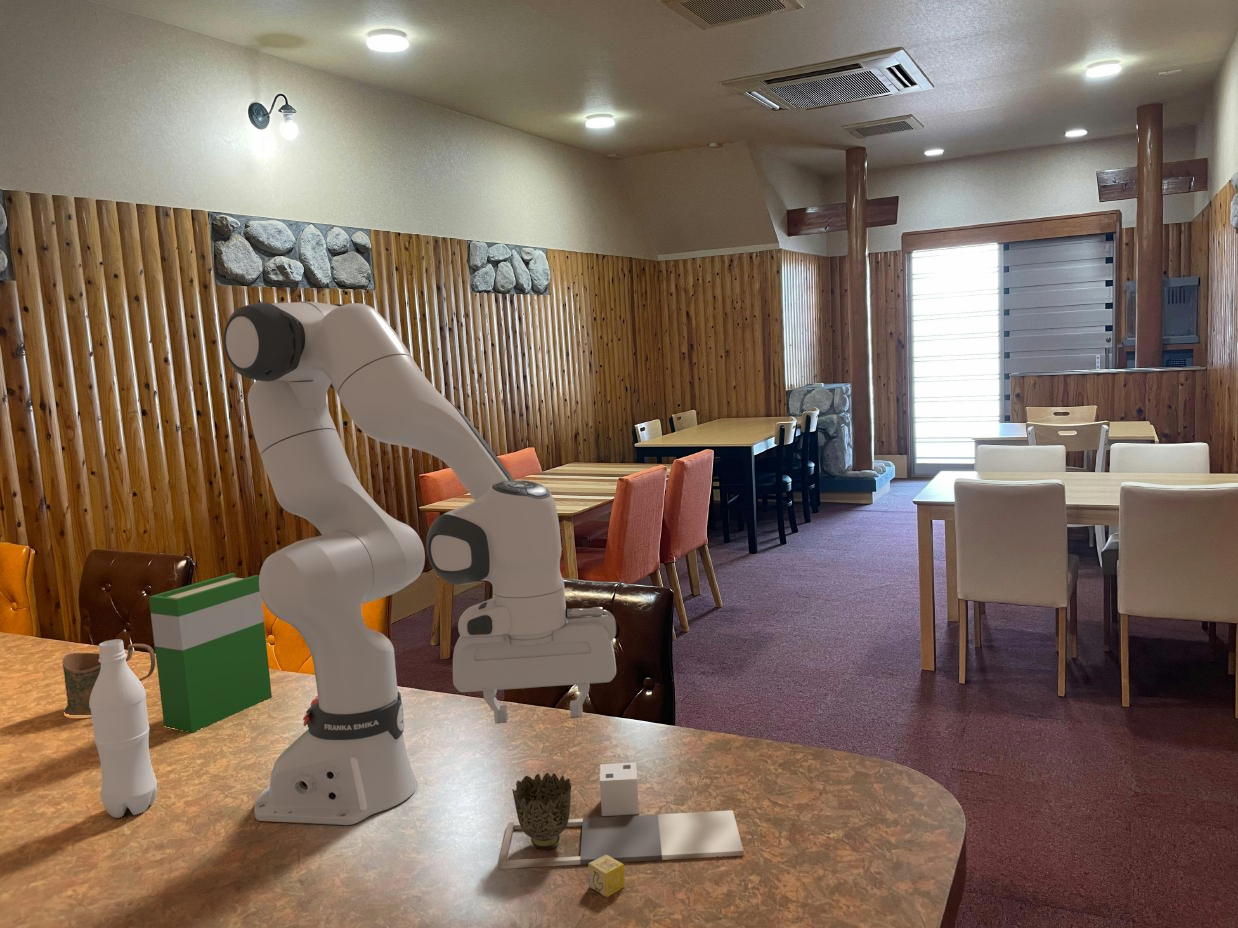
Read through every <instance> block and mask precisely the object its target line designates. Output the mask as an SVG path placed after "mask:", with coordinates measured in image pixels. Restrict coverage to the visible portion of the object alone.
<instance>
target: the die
mask: <svg viewBox="0 0 1238 928" xmlns="http://www.w3.org/2000/svg"><path fill="white" fill-rule="evenodd" d="M599 789H600V803H601V804H600V805H601V816H602V817H615V816H633V815H639V814H640V809H639V792H638V791H639V789H638V771H637V762H636V761H635V762H621V763H619V762H618V763H602V764H601V763H600V767H599Z"/></svg>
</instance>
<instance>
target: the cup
mask: <svg viewBox="0 0 1238 928" xmlns="http://www.w3.org/2000/svg"><path fill="white" fill-rule="evenodd" d="M540 775H541V774H540V773H536V774H535V776H534V778H532V777H531V776H530V775H525V776H524V777H523V778H522V780H521V781H520V780H516V782H515V786H516V788H515V789H511V790H512V791H511V792H512V794H513V800H514V805H515V811H516V815H517V816H516V817H517V820H518V822H519V824H520V826H521V828H522V829H521V830H522V832H523V833H524V834H525V835H526V836H527V837H529V838H530V842H531V845H532V847H534V848H535V849H536V850H539V851H540V850H541V851H548V850H552V849H554V848H556V847H557V846H558V844H559V843H560V840H561V836H560V835H561V834H562V833H563V832H564V831H565V829H566V828H567V827H566V826H567V823H568V820H569V819H570V814H571V813H570V812H571V801H572V800H571V797H572V783H571V779H570V778H567V779H566V778H565V776H564V775H563V774H562V775H561V777H560V778H559V777H558V776H557V774H556V773H552V775H551V774H550V773H549V772H546V773H545V774H544V775H543V777H542V778H541V776H540Z"/></svg>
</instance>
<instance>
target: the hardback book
mask: <svg viewBox="0 0 1238 928" xmlns="http://www.w3.org/2000/svg"><path fill="white" fill-rule="evenodd" d="M259 576H260V574H259V575H257V574H255V575H251V576H248V577H245V578H242V577H241V578H240V577H237V576H236V573H235V572H234V573H233V572H231V573H227V574H224V575H221V576H218V577H217V576H216V577H214V578H210V579H207V580H206V579H205V580H202V581H199V582H195V583H192V584H189V585H185V586H182V587H181V586H180V587H179V588H175V589H171V590H168V591H164V592H160V593H157V594H153V595H151V596H148V602H149V610H150V618H151V619H150V620H151V625H152V628H151V629H152V636H153V643H154V644H153V645H154V654H155V662H156V669H157V677H158V686H159V692H160V693H159V695H160V703H161V704H160V705H161V710H162V712H161V713H162V719H163V726H166V727H170V728H175V729H178V730H177V731H179V730H183V731H182V732H184V731H188V732H191V733H190V734H194V733H196V732H198V731H197V730H199V731H201V730H202V729H201V728H203V729H205V728H208V727H209V725H210V726H211V725H214V724H216V723H218V721H219V722H220V721H223V720H225V719H227V718H230V717H232V716H234V715H236V714H238V713H241V712H243V711H245V710H247V709H250V708H251V707H254V706H256V705H258V703H259V704H260V702H261V703H263V702H265V701H267V700H269V698H270V699H272V698H273V696H272V686H271V684H272V683H271V676H270V675H271V674H270V666H269V657H268V645H267V639H266V628H265V618H264V608H263V607H264V606H263V600H262V597H261V594H260V590H259ZM271 697H272V698H271ZM264 700H265V701H264ZM249 707H250V708H249ZM244 709H245V710H244ZM229 716H230V717H229ZM213 723H214V724H213ZM204 727H205V728H204ZM200 729H201V730H200ZM195 731H196V732H195ZM188 732H187V733H188ZM193 732H194V733H193Z"/></svg>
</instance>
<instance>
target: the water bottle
mask: <svg viewBox="0 0 1238 928" xmlns="http://www.w3.org/2000/svg"><path fill="white" fill-rule="evenodd" d="M98 649H99V654H100V655H99V657H100V658H99V662H100V663H101V669H100V673H99V676H98V678H97V680H96V682H95V685H94V687H93V690H92V692H91V695H90V701H89V707H90V709H91V715H92V718H91V721H92V729H93V737H94V738H93V741H94V743H95V746H96V750H97V752H98V757H99V762H100V771H101V787H100V788H101V789H100V800H101V802H102V805H103V807H104V809H105V810H106V812H107V813H108V814H109V815H110V817H112V818H115V819H120V817H121V818H123V817H122V816H125V813H126V811H127V809H129V811H130V812H131V814H132V815H133V816H136V815H137V814H138V815H140V814H139V813H141V814H142V812H143V813H144V812H145V811H147V809H148V808H149V807H150V806H152V805H153V804H154V803H155V800H156V797H157V793H158V782H157V778H156V774H155V772H154V768H153V766H152V761H151V757H150V756H151V755H150V747H149V745H150V743H149V739H150V738H149V736H150V729H151V728H150V724H149V716H148V715H149V714H148V707H147V701H146V700H147V699H146V697H147V692H146V689H145V687H144V685H143V683H142V682H141V681H140V680H139V679H140V678H138V677H137V675H136V674H135V673H134V671H133V670H132V669H131V668H130V667H129V665H128V663H127V662H128V661H127V662H126V659H127V656H128V653H126V650H125V647H124V640H123V639H110V640H105V641H103V642H101V643H99V644H98ZM151 804H152V805H151ZM149 805H150V806H149Z"/></svg>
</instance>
